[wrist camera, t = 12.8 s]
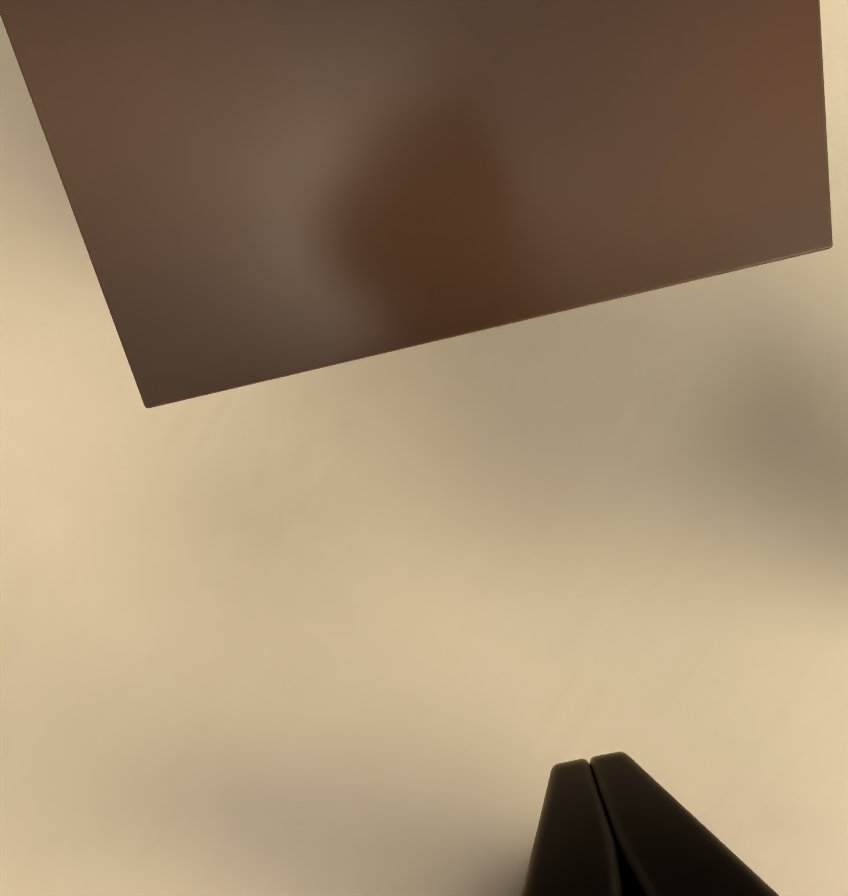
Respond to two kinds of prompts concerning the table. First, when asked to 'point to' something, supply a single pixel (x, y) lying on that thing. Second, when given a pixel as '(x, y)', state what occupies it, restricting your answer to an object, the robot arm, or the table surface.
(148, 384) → the lid
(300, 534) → the table surface
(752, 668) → the table surface
